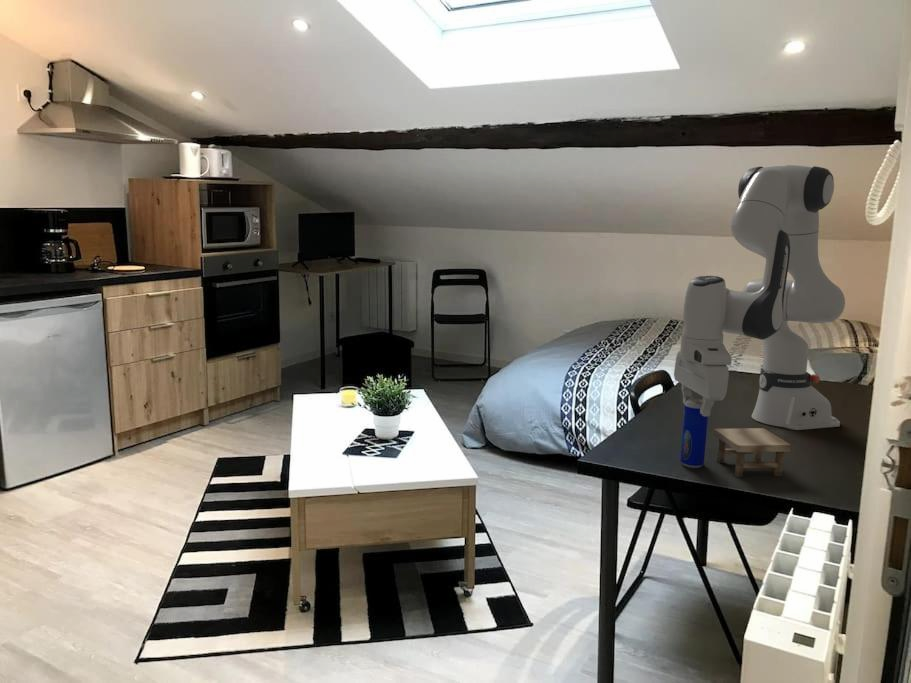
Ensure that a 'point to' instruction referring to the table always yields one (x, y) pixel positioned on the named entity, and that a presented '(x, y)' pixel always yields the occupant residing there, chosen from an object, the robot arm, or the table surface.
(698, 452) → the beverage can
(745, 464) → the stool
